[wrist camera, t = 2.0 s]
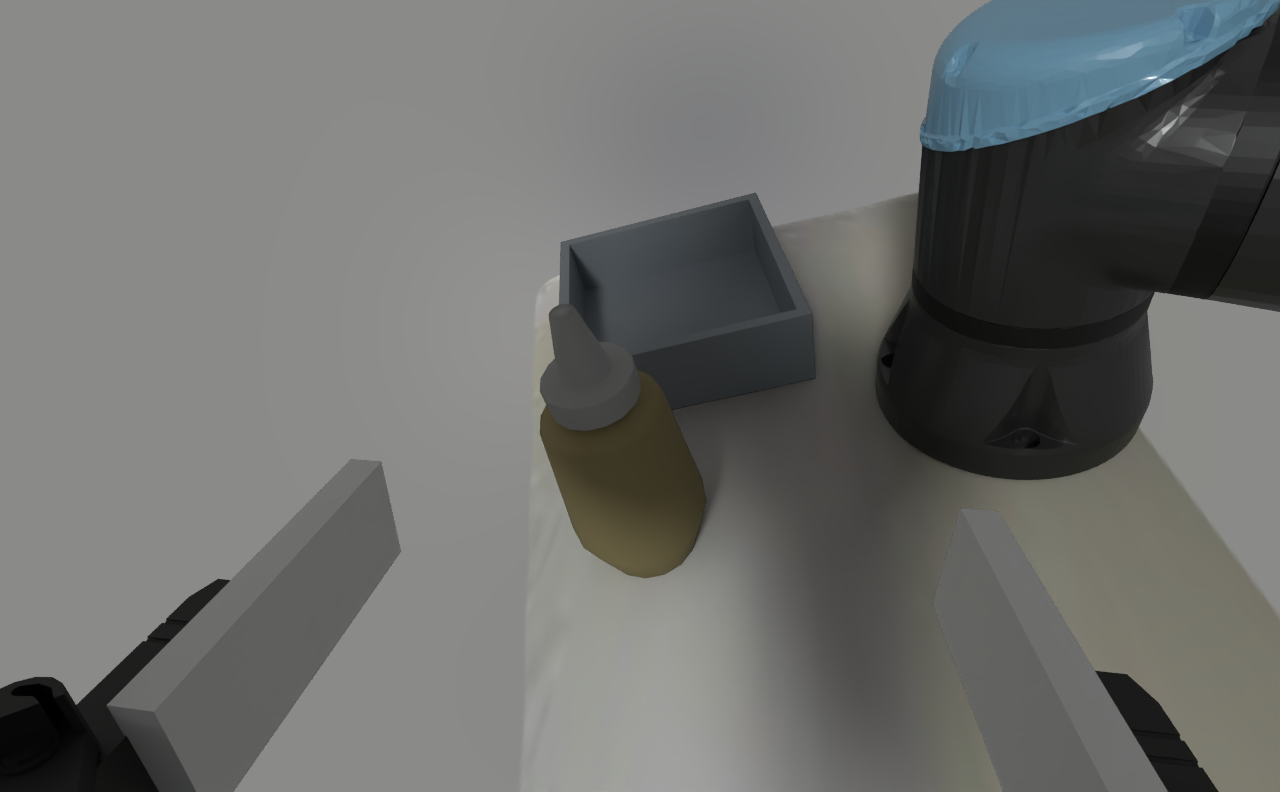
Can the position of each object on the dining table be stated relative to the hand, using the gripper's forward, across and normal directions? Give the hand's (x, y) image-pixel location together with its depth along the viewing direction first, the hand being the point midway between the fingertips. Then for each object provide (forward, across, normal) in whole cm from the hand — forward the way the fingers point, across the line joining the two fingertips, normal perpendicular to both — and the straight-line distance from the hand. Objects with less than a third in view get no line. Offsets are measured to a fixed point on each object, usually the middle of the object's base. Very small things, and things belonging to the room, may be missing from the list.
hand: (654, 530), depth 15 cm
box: (+38, -2, -10) cm, 39 cm away
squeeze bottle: (+19, -2, -17) cm, 26 cm away
